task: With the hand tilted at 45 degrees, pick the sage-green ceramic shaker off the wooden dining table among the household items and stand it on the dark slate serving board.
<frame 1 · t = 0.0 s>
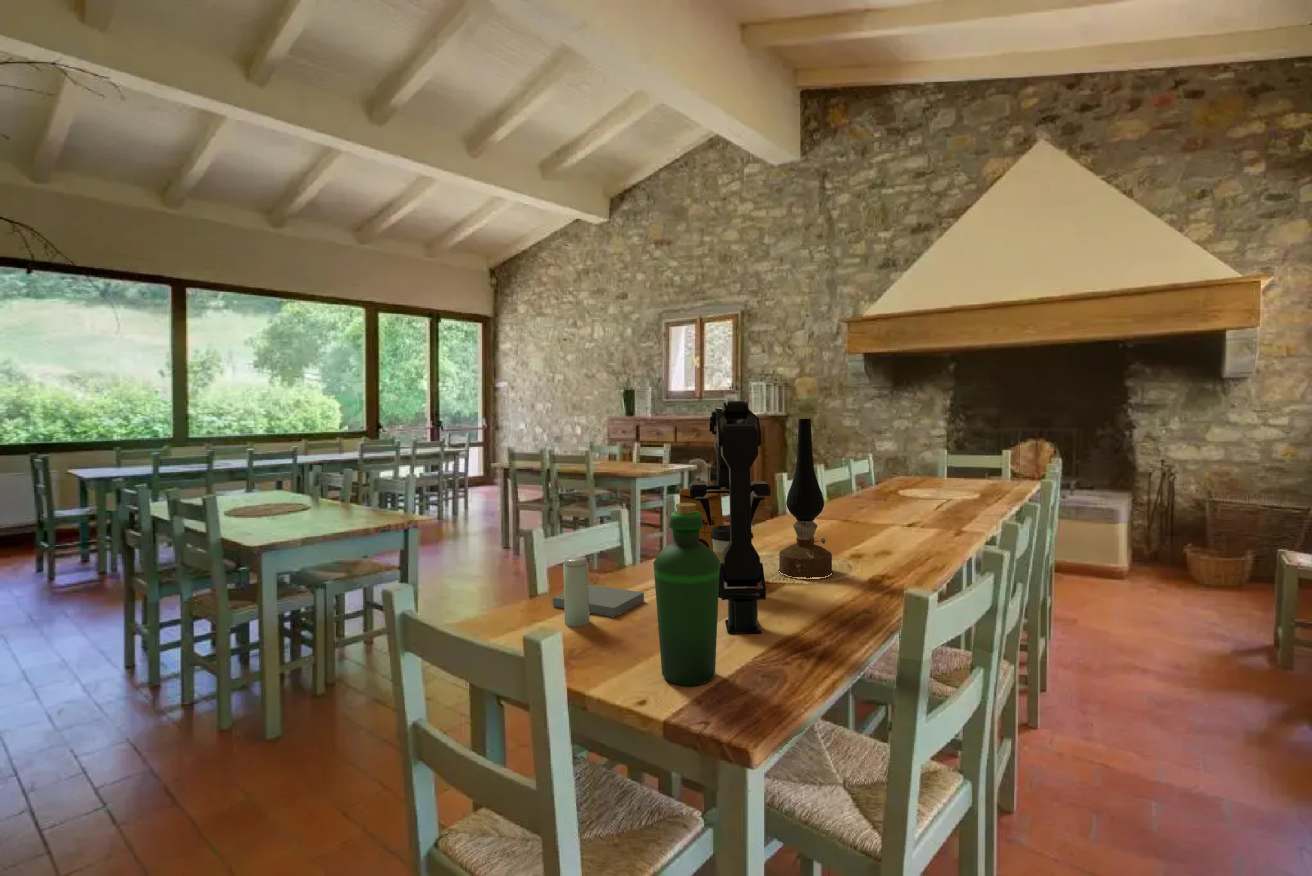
hand: (729, 525, 155), 15 cm above the table, tool pointing down, fingers open, 9 cm apart
coffee package: (703, 574, 168), on the table
shaker: (577, 622, 133), on the table
oil lamp: (805, 573, 167), on the table
coffee cup: (732, 593, 150), on the table
bottle: (688, 677, 106), on the table
slate board: (598, 603, 144), on the table
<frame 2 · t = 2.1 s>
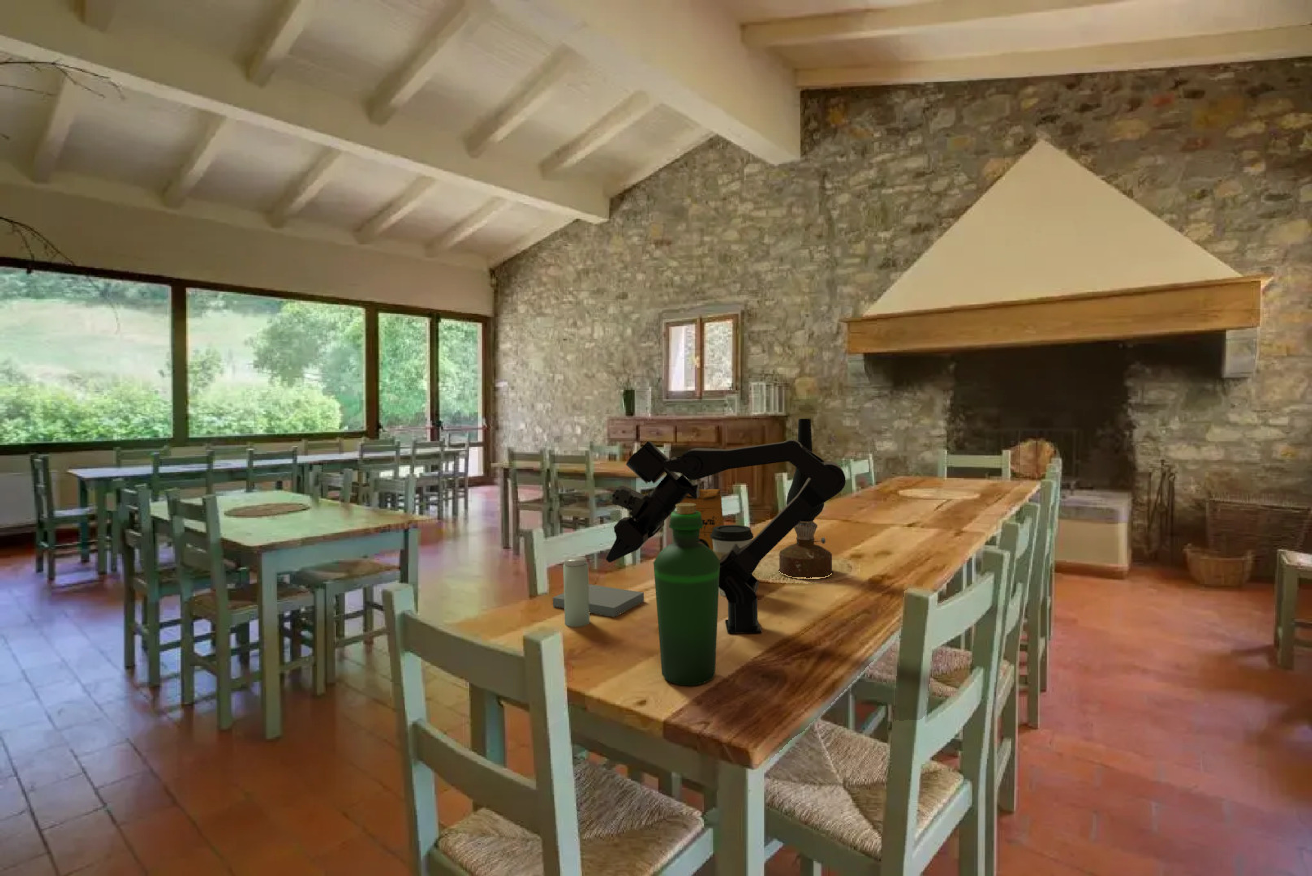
hand: (614, 555, 133), 13 cm above the table, tool tilted 40°, fingers open, 9 cm apart
nothing on the table moved.
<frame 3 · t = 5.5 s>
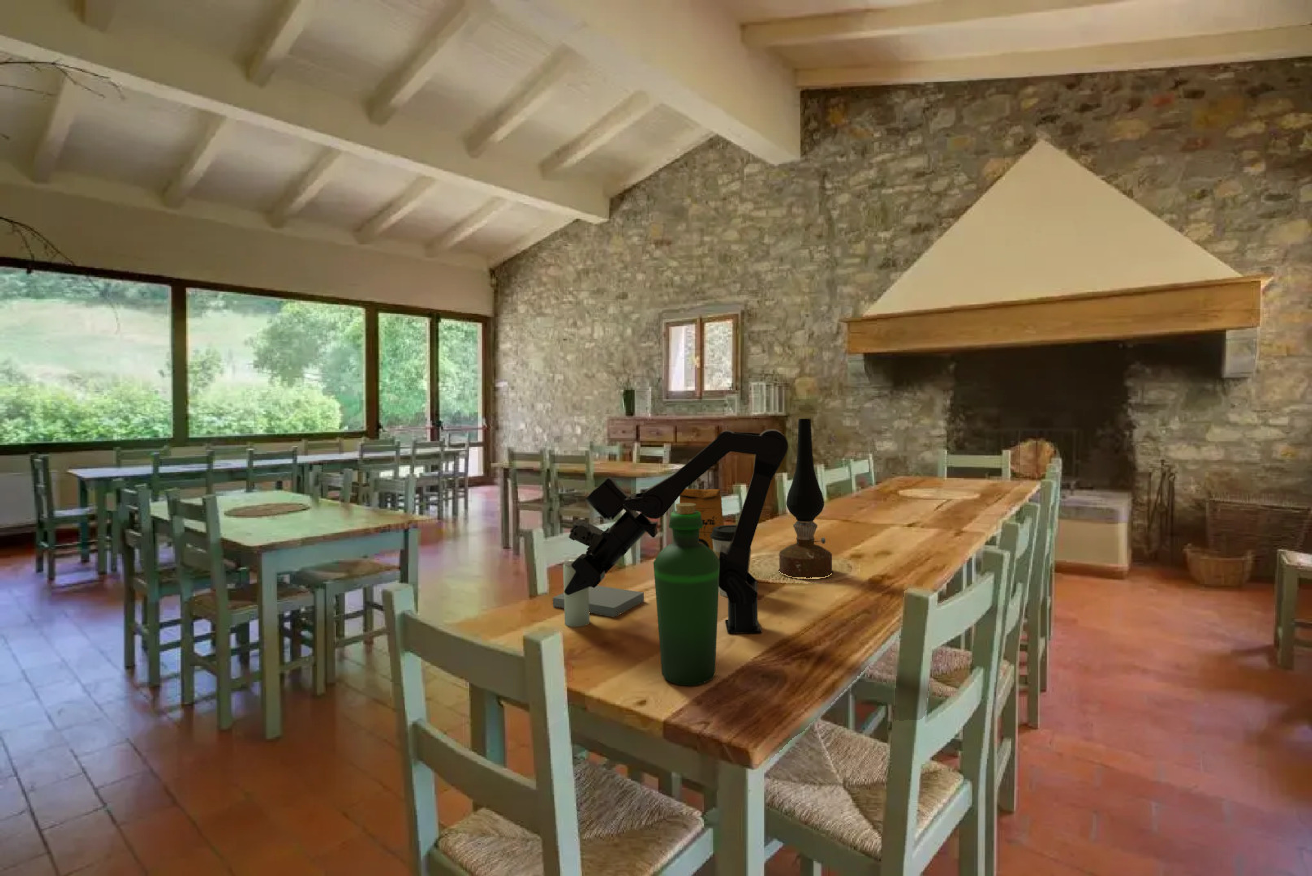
hand: (569, 589, 132), 7 cm above the table, tool tilted 45°, fingers closed on shaker, 5 cm apart
shaker: (577, 622, 133), on the table, touching gripper
everything else where it was.
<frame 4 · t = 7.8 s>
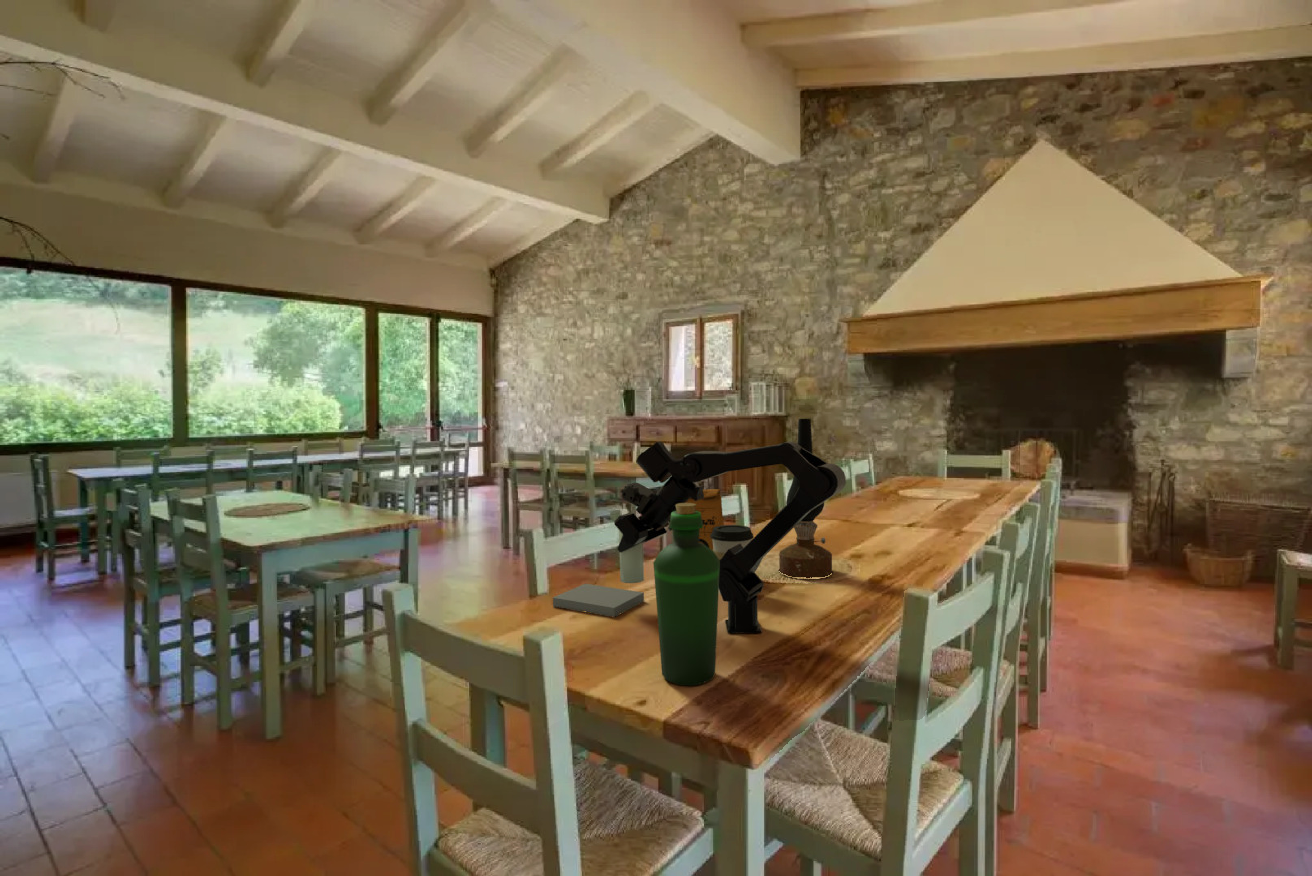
hand: (625, 548, 140), 13 cm above the table, tool tilted 45°, fingers closed on shaker, 5 cm apart
shaker: (632, 580, 139), point 6 cm above the table, touching gripper
everything else where it was.
when the fingers open (10 cm above the table, at t = 10.0 s): shaker drops 1 cm, resting on slate board.
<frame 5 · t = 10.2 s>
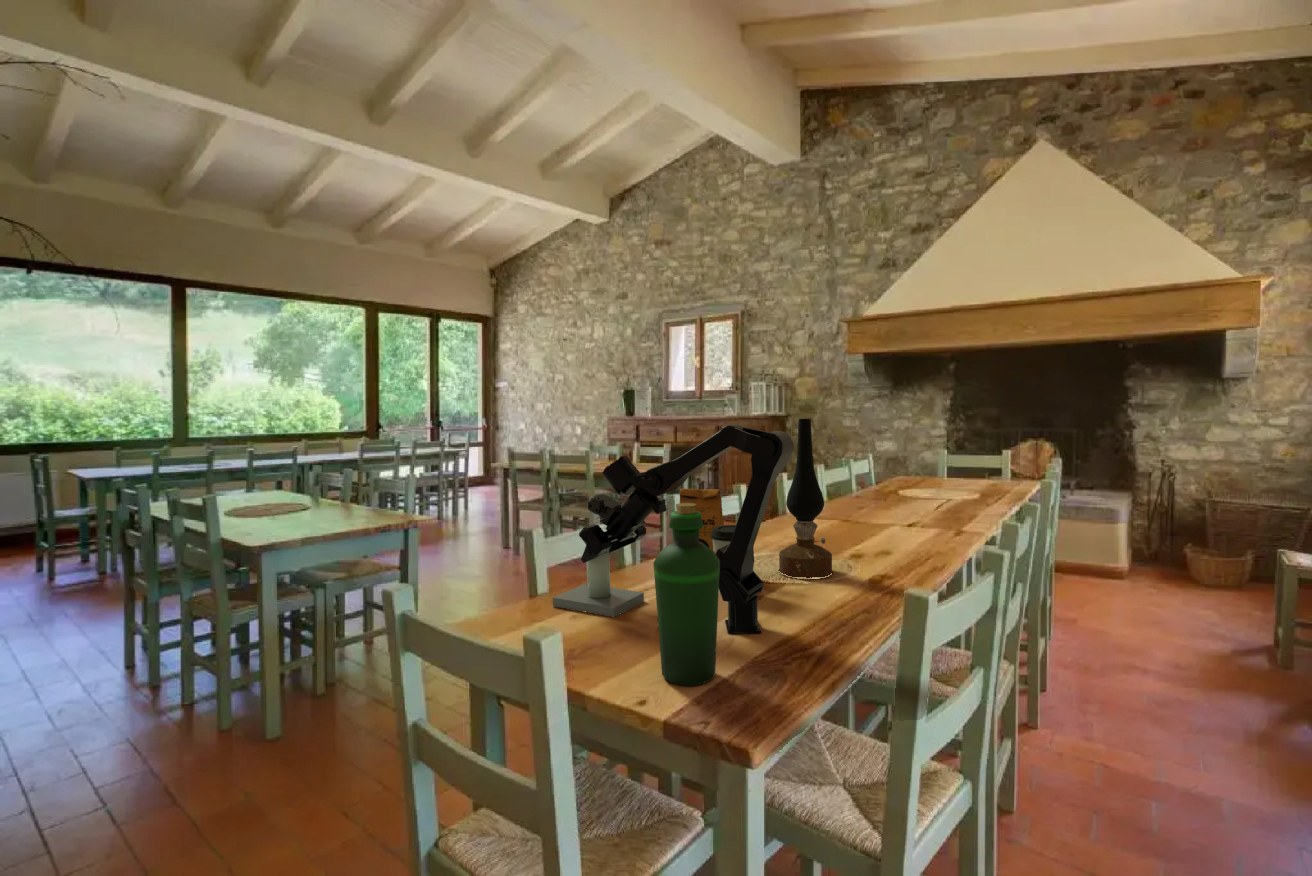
hand: (592, 557, 145), 10 cm above the table, tool tilted 45°, fingers open, 7 cm apart
shaker: (599, 594, 144), point 2 cm above the table, touching slate board
everything else where it was.
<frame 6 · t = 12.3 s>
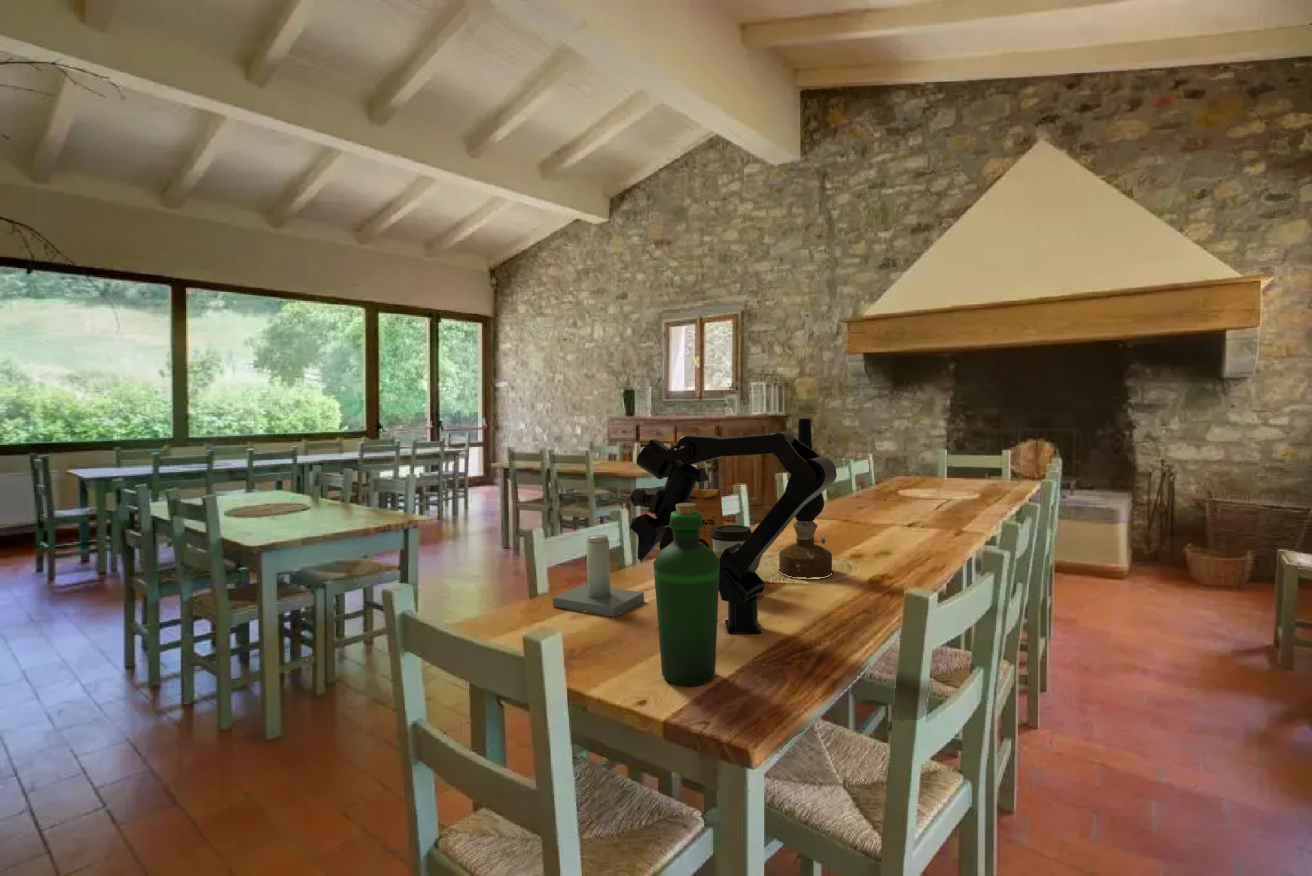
hand: (650, 553, 139), 12 cm above the table, tool tilted 25°, fingers open, 9 cm apart
nothing on the table moved.
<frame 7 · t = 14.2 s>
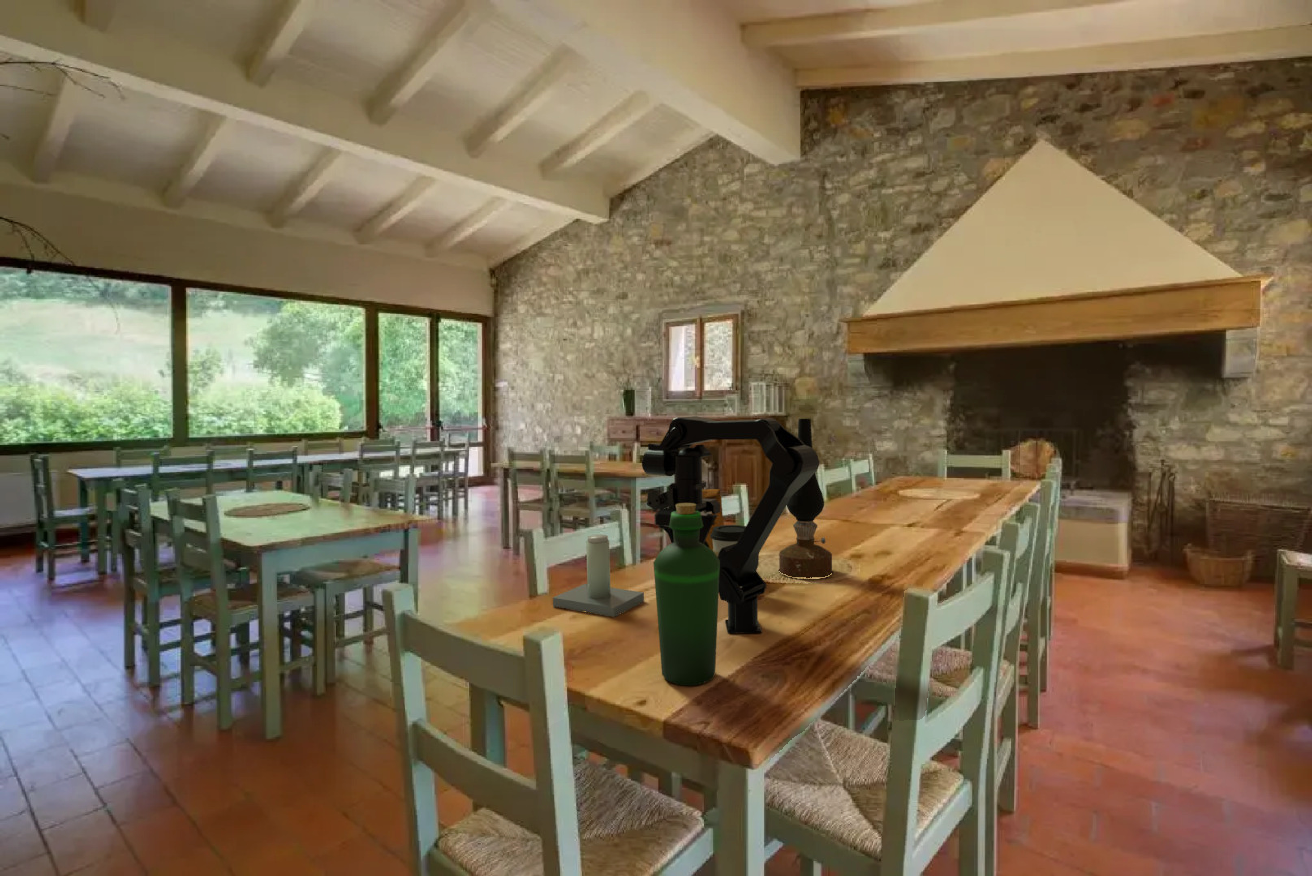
hand: (689, 553, 135), 13 cm above the table, tool pointing down, fingers open, 9 cm apart
nothing on the table moved.
at the end: shaker inside the target area on the slate board (0.1 cm from its centre), point 2.0 cm above the slate board's base; shaker tilted 0°; the gripper is holding nothing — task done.
